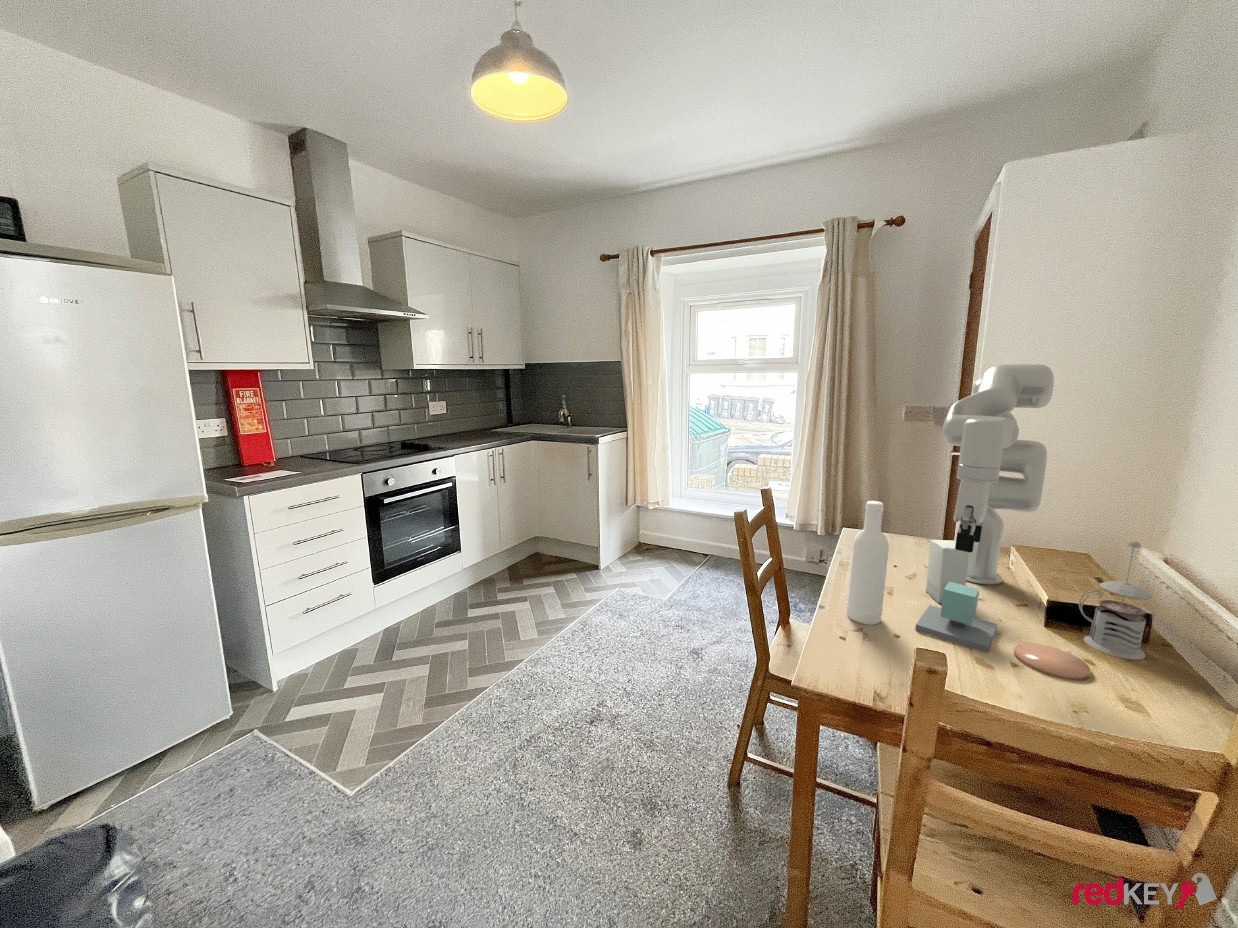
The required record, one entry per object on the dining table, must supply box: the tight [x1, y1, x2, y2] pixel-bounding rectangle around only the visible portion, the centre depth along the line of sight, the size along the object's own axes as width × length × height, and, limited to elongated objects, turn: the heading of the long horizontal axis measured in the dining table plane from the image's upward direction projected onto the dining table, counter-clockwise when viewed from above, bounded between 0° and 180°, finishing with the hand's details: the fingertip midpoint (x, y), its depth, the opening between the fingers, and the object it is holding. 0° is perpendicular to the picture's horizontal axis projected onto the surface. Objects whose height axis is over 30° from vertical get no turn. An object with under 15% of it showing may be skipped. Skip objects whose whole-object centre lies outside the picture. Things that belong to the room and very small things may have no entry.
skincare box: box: [925, 539, 969, 604], centre depth 130 cm, size 8×7×16 cm
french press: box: [1078, 540, 1153, 660], centre depth 105 cm, size 10×12×25 cm
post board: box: [915, 604, 998, 654], centre depth 113 cm, size 14×14×10 cm
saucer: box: [1013, 642, 1091, 681], centre depth 101 cm, size 12×12×1 cm
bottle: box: [846, 500, 890, 626], centre depth 118 cm, size 8×8×30 cm
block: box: [940, 582, 980, 625], centre depth 113 cm, size 6×6×7 cm
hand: (967, 545), depth 110 cm, fingers open, 9 cm apart
